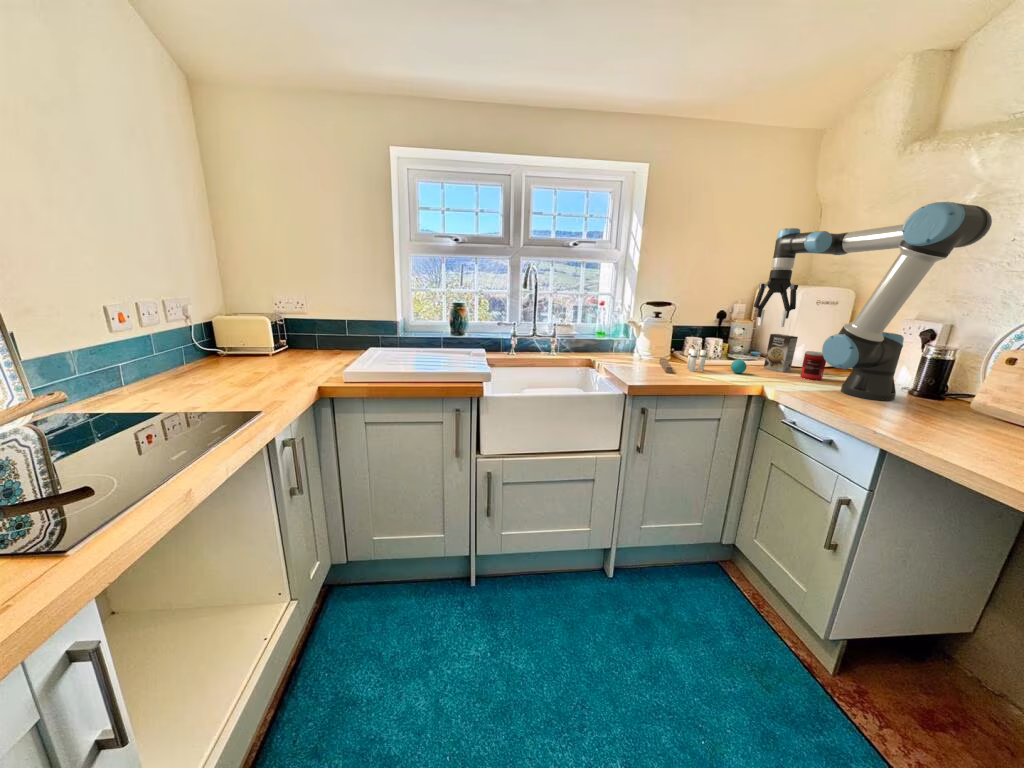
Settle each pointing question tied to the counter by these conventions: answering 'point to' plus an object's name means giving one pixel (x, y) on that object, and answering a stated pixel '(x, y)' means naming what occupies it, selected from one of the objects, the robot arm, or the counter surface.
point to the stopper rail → (665, 365)
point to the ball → (738, 366)
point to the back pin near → (693, 360)
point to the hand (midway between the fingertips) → (770, 325)
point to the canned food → (813, 365)
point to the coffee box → (780, 352)
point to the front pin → (702, 360)
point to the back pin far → (689, 357)
